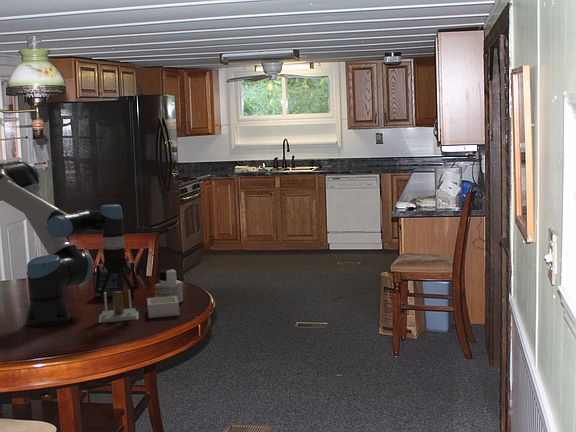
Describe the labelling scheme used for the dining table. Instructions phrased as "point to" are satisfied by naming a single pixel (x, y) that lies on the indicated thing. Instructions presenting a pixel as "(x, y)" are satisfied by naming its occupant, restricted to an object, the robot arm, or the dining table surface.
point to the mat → (123, 320)
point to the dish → (163, 306)
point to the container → (168, 285)
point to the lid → (118, 310)
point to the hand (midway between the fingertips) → (118, 309)
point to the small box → (109, 283)
